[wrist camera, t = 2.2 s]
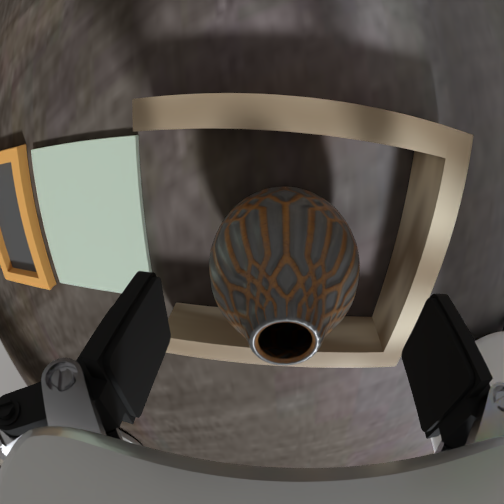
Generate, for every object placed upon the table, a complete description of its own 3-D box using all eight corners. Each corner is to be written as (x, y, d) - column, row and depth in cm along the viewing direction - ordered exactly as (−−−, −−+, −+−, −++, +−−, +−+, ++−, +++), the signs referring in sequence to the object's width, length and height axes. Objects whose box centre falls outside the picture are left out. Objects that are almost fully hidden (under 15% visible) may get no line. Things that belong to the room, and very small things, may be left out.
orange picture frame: (56, 283, 21) (50, 289, 20) (11, 274, 21) (5, 279, 20) (25, 144, 15) (16, 147, 14) (-18, 155, 15) (-25, 159, 14)
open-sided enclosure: (384, 331, 20) (395, 366, 17) (178, 318, 21) (164, 352, 18) (439, 126, 13) (473, 135, 10) (161, 98, 14) (132, 99, 10)
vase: (359, 251, 17) (405, 362, 9) (263, 296, 19) (251, 413, 11) (308, 150, 14) (342, 205, 7) (201, 211, 17) (140, 307, 9)
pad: (155, 294, 20) (153, 297, 20) (62, 280, 20) (60, 282, 20) (138, 134, 15) (135, 135, 14) (34, 148, 15) (31, 150, 15)
